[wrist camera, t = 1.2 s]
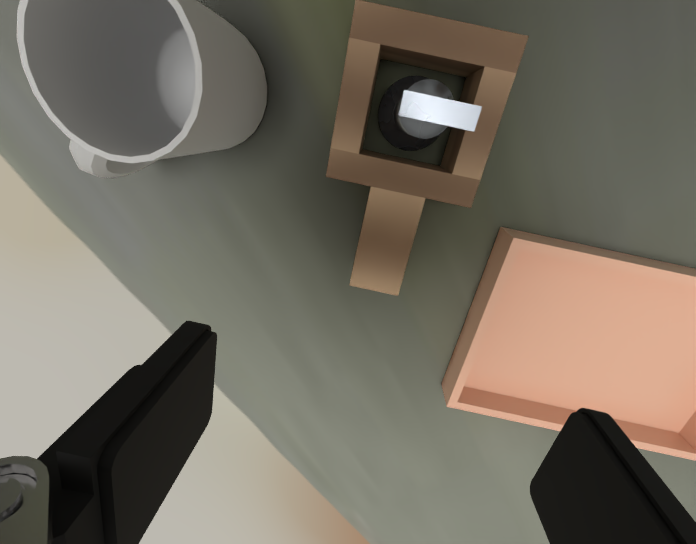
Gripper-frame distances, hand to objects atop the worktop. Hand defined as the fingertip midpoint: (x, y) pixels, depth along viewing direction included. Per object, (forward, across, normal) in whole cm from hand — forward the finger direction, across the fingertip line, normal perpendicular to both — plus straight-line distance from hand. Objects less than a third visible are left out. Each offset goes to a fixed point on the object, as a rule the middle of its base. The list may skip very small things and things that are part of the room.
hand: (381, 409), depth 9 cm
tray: (+16, -17, +4) cm, 24 cm away
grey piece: (+16, 0, -8) cm, 18 cm away
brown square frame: (+16, 0, -5) cm, 17 cm away
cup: (+16, +13, -6) cm, 22 cm away
